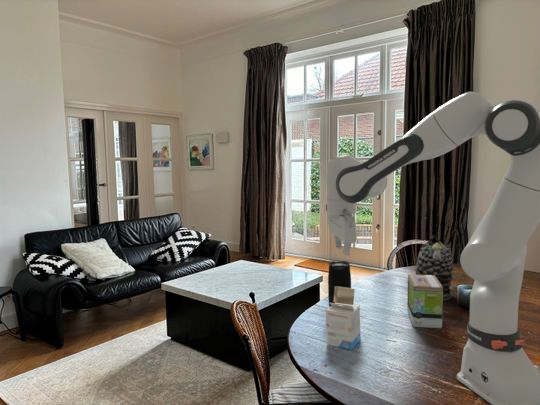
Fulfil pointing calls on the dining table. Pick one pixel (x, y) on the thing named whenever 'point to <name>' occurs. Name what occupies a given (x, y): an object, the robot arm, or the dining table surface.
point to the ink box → (343, 325)
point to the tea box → (425, 301)
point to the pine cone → (436, 264)
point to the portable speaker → (338, 277)
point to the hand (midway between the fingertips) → (342, 251)
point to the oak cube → (344, 295)
